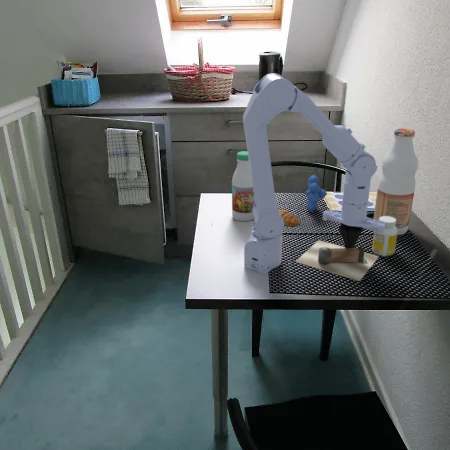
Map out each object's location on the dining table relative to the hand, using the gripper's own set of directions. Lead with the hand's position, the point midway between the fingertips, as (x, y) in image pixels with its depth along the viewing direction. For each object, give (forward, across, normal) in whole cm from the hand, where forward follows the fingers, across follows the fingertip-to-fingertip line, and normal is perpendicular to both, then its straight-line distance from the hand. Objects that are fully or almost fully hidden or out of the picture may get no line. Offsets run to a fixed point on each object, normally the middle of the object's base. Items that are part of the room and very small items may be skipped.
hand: (349, 252), depth 108 cm
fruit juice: (+2, -3, -23) cm, 23 cm away
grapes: (+2, +20, -23) cm, 31 cm away
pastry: (+3, +24, -10) cm, 26 cm away
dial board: (+2, +2, +3) cm, 4 cm away
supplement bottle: (+2, -6, -7) cm, 10 cm away
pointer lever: (+1, +1, +4) cm, 4 cm away
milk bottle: (+2, +36, -8) cm, 37 cm away
